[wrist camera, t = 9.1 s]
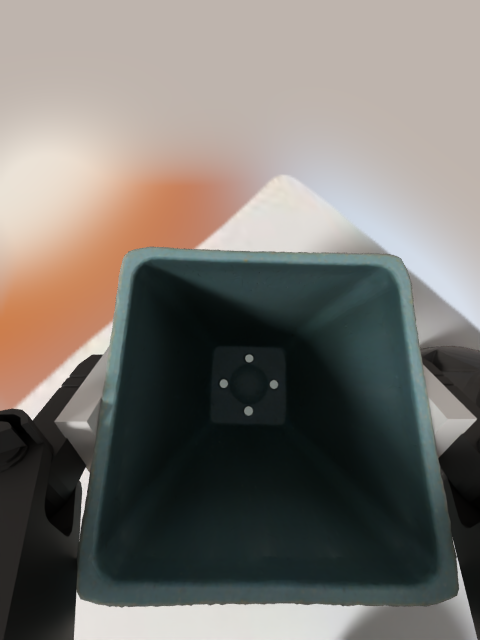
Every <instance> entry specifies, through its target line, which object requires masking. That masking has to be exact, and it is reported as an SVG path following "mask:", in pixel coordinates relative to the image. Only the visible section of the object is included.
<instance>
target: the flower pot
mask: <svg viewBox="0 0 480 640" xmlns="http://www.w3.org/2000/svg"><path fill="white" fill-rule="evenodd" d="M249 354H250V355H252V356H253V361H251V362H247V361H246V360H245V357H246V356H247V355H249ZM221 380H226V381H227V382H228V385H227V387H226V388H222V387H221V386H220V381H221ZM273 380H275V381H277V383H278V387H277V388H275V389H273V388H271V387H270V382H271V381H273ZM248 406H250V407H251V408H252V409H253V413H252V414H251V415H249V416H248V415H246V414H245V413H244V410H245V408H246V407H248ZM436 448H437V447H436V441H435V435H434V430H433V425H432V418H431V412H430V406H429V399H428V393H427V387H426V381H425V376H424V370H423V363H422V357H421V351H420V346H419V340H418V332H417V327H416V318H415V313H414V306H413V296H412V285H411V281H410V277H409V274H408V271H407V269H406V267H405V265H404V263H403V261H402V260H401V258H399V257H397V256H394V255H390V254H372V253H362V254H357V253H307V252H304V253H303V252H298V253H293V252H264V251H262V252H250V251H220V250H204V249H202V250H198V249H178V248H177V249H175V248H166V247H146V248H140V249H135V250H132V251H129V252H128V253H127V254H126V255H125V256H124V258H123V261H122V265H121V269H120V275H119V283H118V291H117V295H116V305H115V313H114V318H113V328H112V334H111V339H110V346H109V353H108V357H107V365H106V374H105V382H104V387H103V395H102V398H101V407H100V412H99V420H98V426H97V434H96V441H95V445H94V452H93V457H92V463H91V468H90V477H89V484H88V490H87V497H86V502H85V510H84V515H83V519H82V526H81V532H80V541H79V545H78V550H77V569H78V571H77V592H78V595H79V597H80V599H82V600H85V601H89V602H92V603H95V604H98V605H106V606H109V607H111V606H115V607H117V606H119V607H124V606H127V607H135V606H155V607H158V606H175V605H182V606H183V605H193V604H208V605H213V604H221V605H224V604H245V605H246V604H276V603H295V604H304V605H310V604H327V605H329V604H331V605H342V606H351V605H352V606H354V605H365V606H383V605H387V606H429V605H433V604H438V603H441V602H444V601H446V600H449V599H451V598H453V597H455V596H457V593H458V590H459V584H458V571H457V561H456V557H457V556H456V553H455V548H454V545H453V538H452V532H451V521H450V517H449V514H448V507H447V500H446V494H445V490H444V485H443V480H442V478H441V474H440V464H439V460H438V455H437V450H436Z"/></svg>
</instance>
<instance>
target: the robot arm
mask: <svg viewBox="0 0 480 640" xmlns="http://www.w3.org/2000/svg"><path fill="white" fill-rule="evenodd" d="M420 351H421V357H422V363H423V370H424V376H425V381H426V387H427V393H428V399H429V406H430V412H431V418H432V425H433V430H434V435H435V441H436V447H437V448H436V450H437V455H438V460H439V464H440V474H441V478H442V480H443V485H444V490H445V494H446V500H447V507H448V514H449V517H450V521H451V532H452V537H453V541H454V545H455V549H456V553H457V557H458V561H459V565H460V569H461V574H462V578H463V582H464V586H465V590H466V594H467V598H468V602H469V606H470V610H471V614H472V618H473V622H474V627H475V631H476V635H477V639H478V640H480V351H478V350H473V349H469V348H464V347H457V346H440V347H431V348H424V349H420ZM108 353H109V347H108V349H107V350H106V352H105V353H104V354H103V355H91V356H90V357H88V358H87V359H86V360H84V361H83V362H81V363H80V364H79V365H78V366H77V367H76V368H75V370H74V371H73V372H72V373H71V375H70V377H69V378H67V379H66V381H65V382H64V383H63V384H62V387H61V388H59V389H58V390H57V392H56V393H55V394H54V395H53V396H52V398H51V399H50V400H49V401H48V402H47V404H46V405H45V406H44V407H43V409H42V410H41V411H40V412H39V413H38V415H37V416H36V417H35V418H34V420H33V421H32V420H31V418H30V417H29V416H28V415H27V414H26V413H25V412H24V411H23V410H19V409H8V410H3V411H0V640H74V624H75V607H76V589H77V571H78V569H77V550H78V545H79V536H80V518H81V500H82V487H81V482H80V481H79V479H80V477H81V475H82V473H83V471H84V469H85V467H86V468H87V469H88V471H89V472H90V468H91V463H92V457H93V452H94V445H95V441H96V434H97V426H98V420H99V412H100V407H101V398H102V395H103V387H104V382H105V374H106V365H107V357H108Z"/></svg>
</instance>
